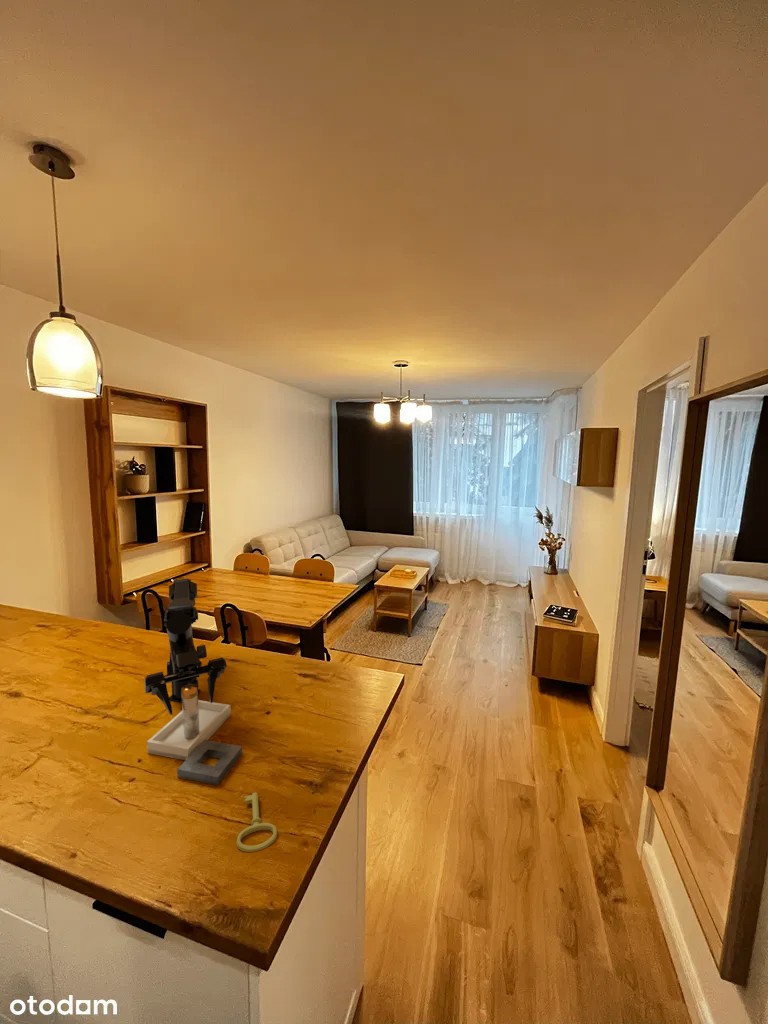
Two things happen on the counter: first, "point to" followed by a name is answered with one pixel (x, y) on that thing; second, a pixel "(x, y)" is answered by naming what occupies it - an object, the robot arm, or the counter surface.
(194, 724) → the pin
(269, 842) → the key
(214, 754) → the grey flat square frame
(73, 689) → the counter surface
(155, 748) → the parts tray
